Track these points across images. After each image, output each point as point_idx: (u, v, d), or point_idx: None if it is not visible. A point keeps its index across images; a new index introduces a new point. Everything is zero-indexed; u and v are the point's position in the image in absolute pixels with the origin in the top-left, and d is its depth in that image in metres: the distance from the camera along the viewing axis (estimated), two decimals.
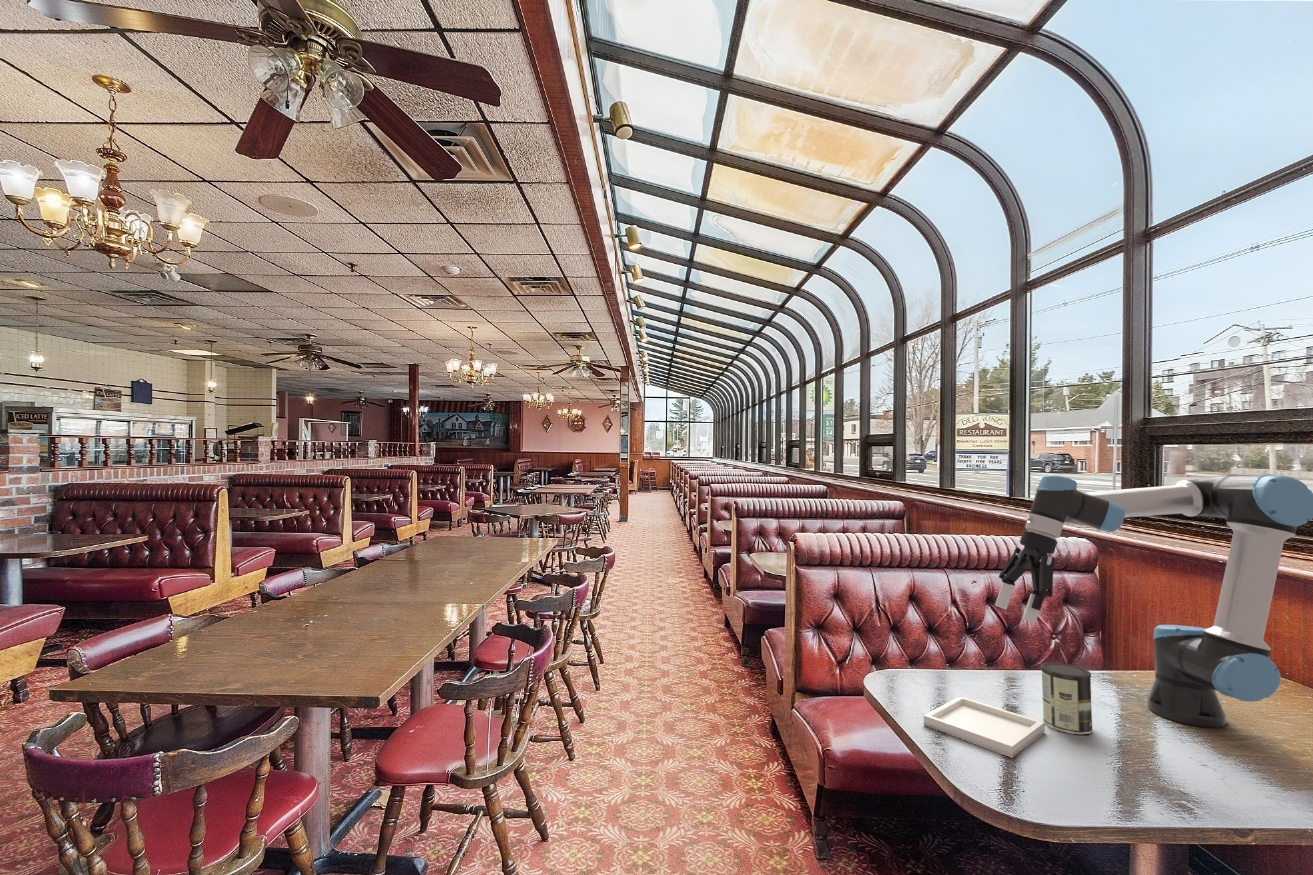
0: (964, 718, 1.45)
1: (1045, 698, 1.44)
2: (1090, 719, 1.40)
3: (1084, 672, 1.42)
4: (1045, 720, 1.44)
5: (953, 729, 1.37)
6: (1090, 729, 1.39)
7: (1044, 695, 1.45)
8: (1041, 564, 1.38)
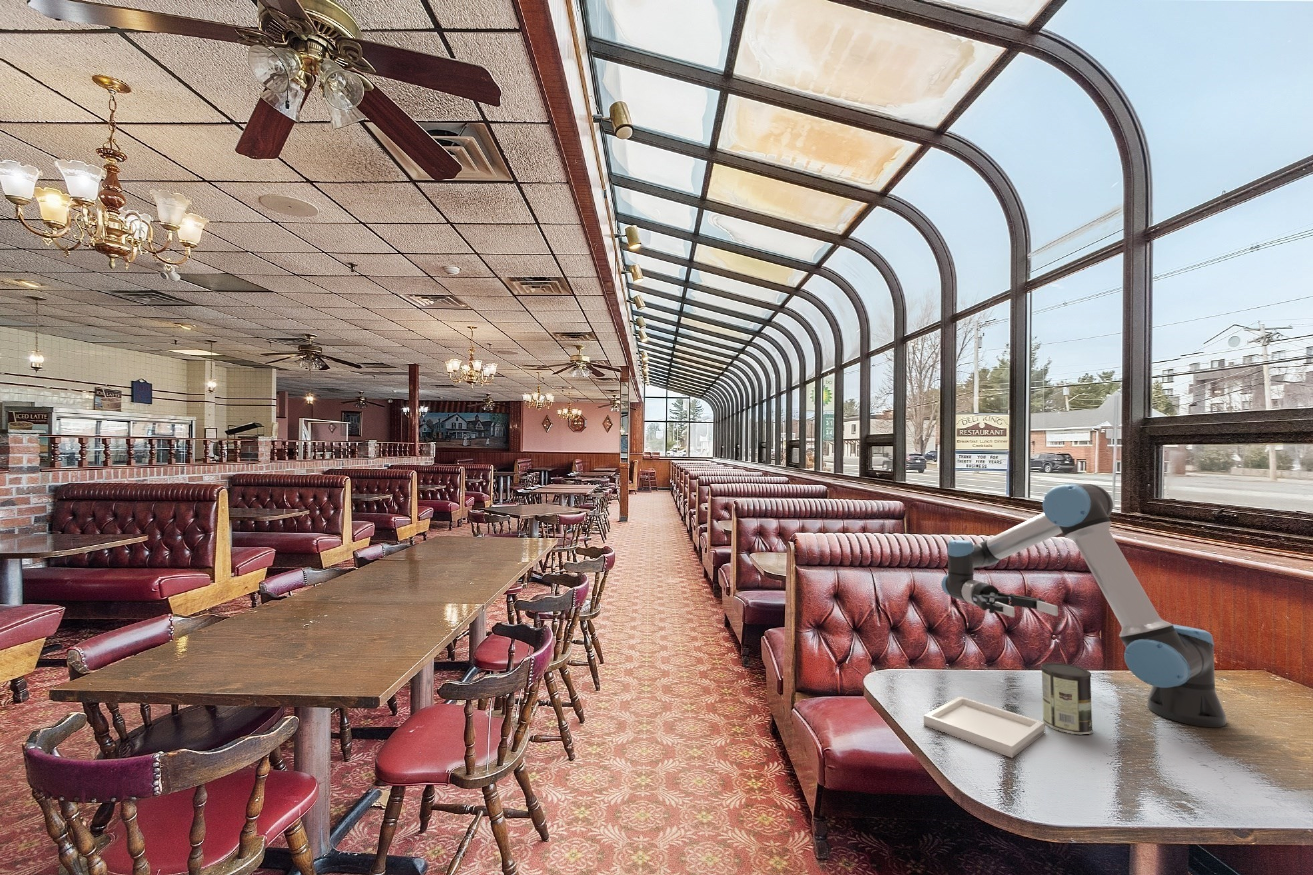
0: (964, 718, 1.45)
1: (1045, 698, 1.44)
2: (1090, 719, 1.40)
3: (1084, 672, 1.42)
4: (1045, 720, 1.44)
5: (953, 729, 1.37)
6: (1090, 729, 1.39)
7: (1044, 695, 1.45)
8: None
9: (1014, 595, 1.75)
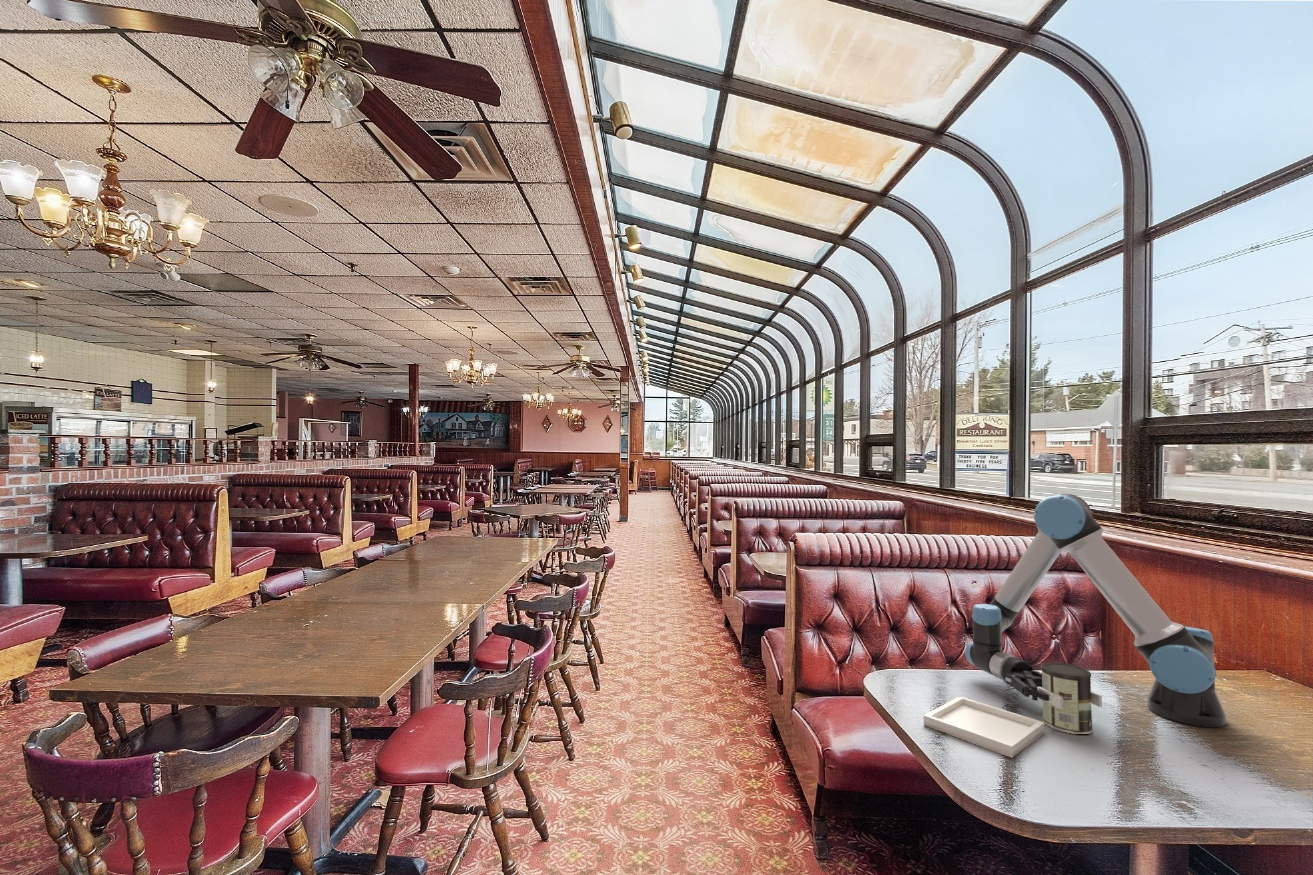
0: (964, 718, 1.45)
1: None
2: (1090, 719, 1.39)
3: (1084, 672, 1.42)
4: (1045, 720, 1.44)
5: (953, 729, 1.37)
6: (1090, 729, 1.39)
7: None
8: None
9: None
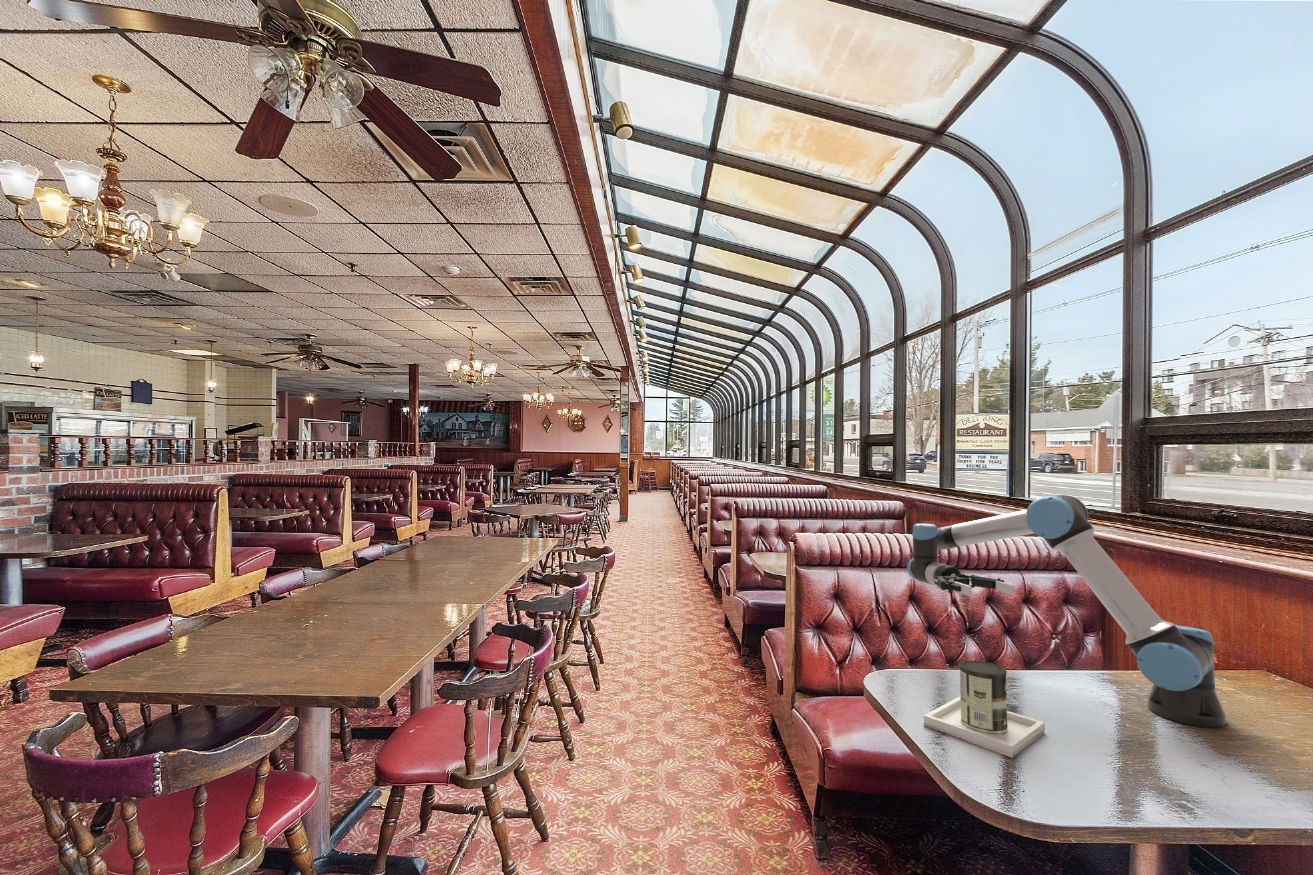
0: None
1: (961, 697, 1.42)
2: (1004, 718, 1.37)
3: (1000, 670, 1.40)
4: (962, 719, 1.42)
5: (953, 729, 1.37)
6: (1004, 728, 1.37)
7: (961, 693, 1.43)
8: None
9: (975, 576, 1.76)
